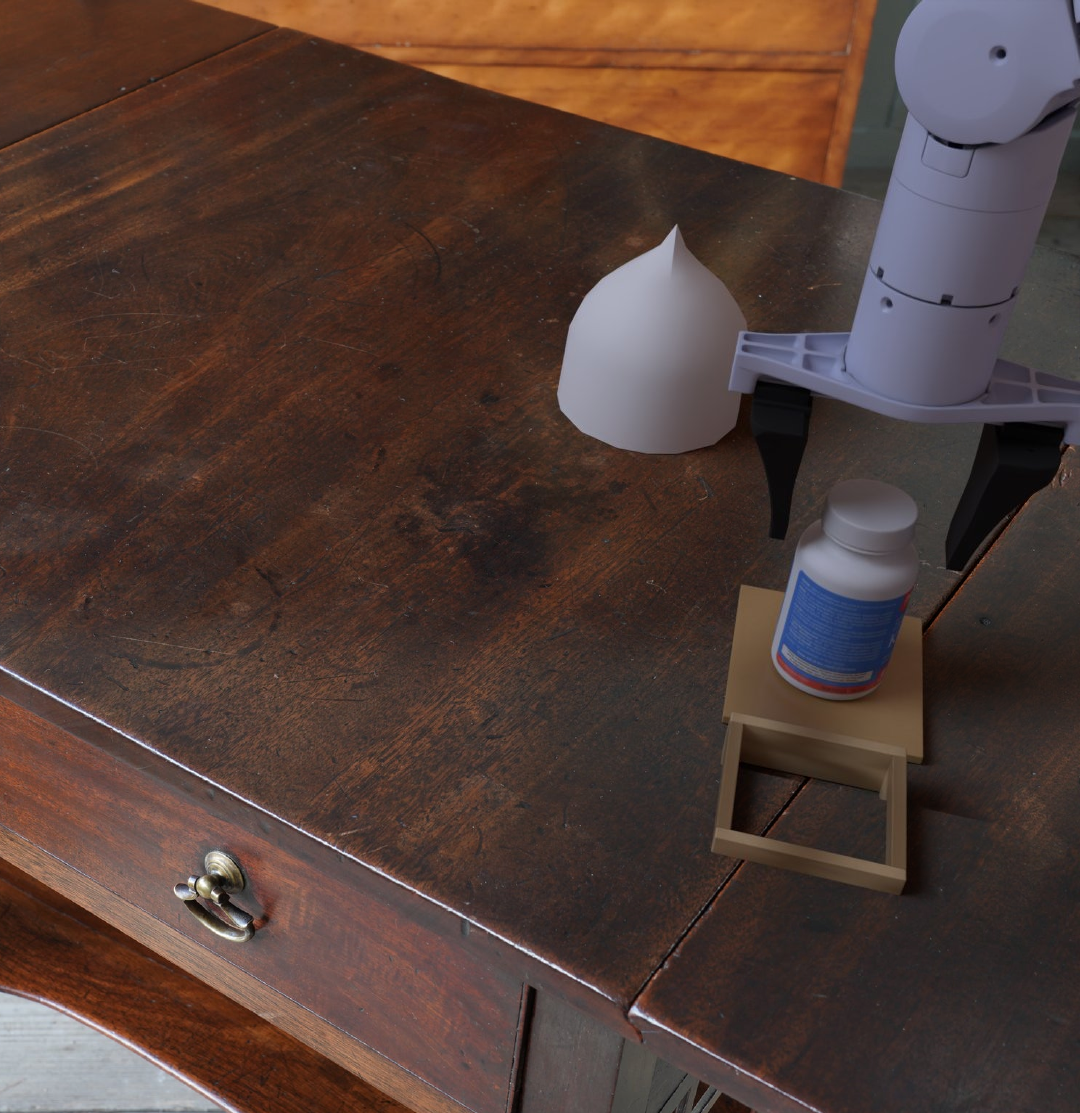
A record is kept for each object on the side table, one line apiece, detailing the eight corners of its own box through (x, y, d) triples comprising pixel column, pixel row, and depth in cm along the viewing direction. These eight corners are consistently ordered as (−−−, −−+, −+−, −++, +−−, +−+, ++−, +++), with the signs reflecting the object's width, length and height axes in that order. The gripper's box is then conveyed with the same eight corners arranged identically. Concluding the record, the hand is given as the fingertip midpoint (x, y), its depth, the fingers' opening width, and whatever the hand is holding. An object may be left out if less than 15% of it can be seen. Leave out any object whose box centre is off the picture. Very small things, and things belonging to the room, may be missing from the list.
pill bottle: (896, 705, 69) (953, 544, 63) (782, 703, 69) (827, 542, 63) (866, 628, 73) (916, 470, 67) (759, 626, 73) (799, 468, 67)
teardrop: (647, 476, 84) (679, 290, 77) (520, 390, 91) (537, 212, 83) (777, 414, 89) (819, 234, 82) (647, 337, 96) (675, 165, 88)
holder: (893, 785, 66) (907, 747, 64) (891, 918, 60) (906, 880, 59) (722, 749, 68) (731, 710, 66) (704, 875, 62) (714, 836, 60)
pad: (919, 625, 74) (922, 618, 74) (920, 765, 67) (923, 757, 67) (739, 591, 76) (741, 583, 76) (721, 722, 69) (723, 715, 69)
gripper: (1130, 252, 59) (1029, 518, 68) (764, 205, 62) (711, 464, 71) (1152, 338, 54) (1039, 615, 62) (750, 281, 57) (695, 552, 66)
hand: (864, 541), depth 66 cm, fingers open, 7 cm apart
